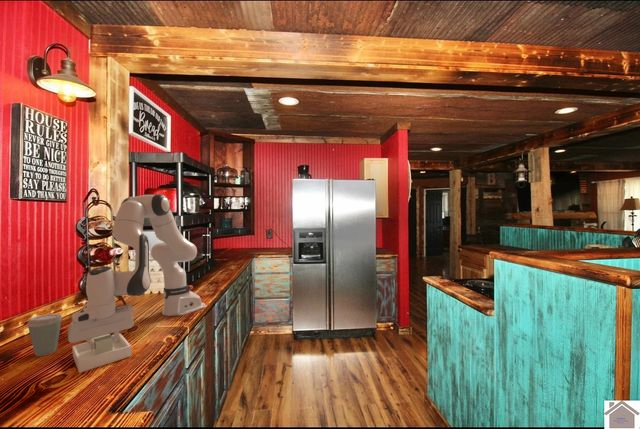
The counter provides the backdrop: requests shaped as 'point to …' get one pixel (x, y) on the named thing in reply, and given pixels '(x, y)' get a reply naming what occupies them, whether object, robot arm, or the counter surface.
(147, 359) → the counter surface
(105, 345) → the sage block
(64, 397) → the counter surface
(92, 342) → the maple block
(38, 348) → the disposable coffee cup
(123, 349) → the tray
